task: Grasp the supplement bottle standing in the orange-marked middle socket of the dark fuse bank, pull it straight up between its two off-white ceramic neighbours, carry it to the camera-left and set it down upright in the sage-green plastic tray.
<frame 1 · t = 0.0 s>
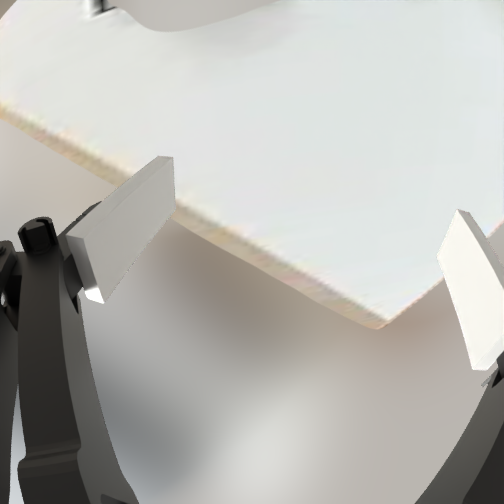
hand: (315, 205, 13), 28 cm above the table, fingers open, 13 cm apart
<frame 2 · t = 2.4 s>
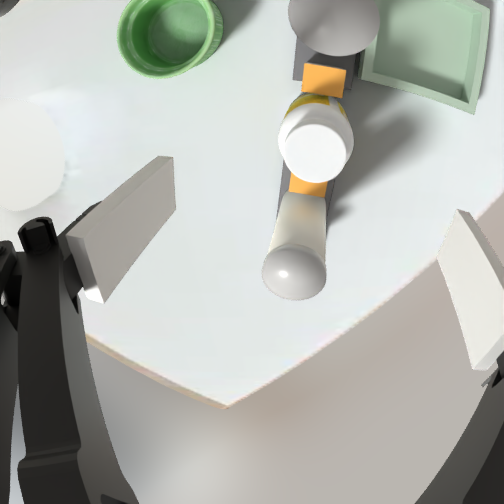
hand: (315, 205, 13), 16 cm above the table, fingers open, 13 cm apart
supplement bottle: (316, 119, 26), resting in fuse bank
ramekin: (183, 30, 23), on the table
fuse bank: (316, 120, 26), on the table
tray: (422, 38, 19), on the table
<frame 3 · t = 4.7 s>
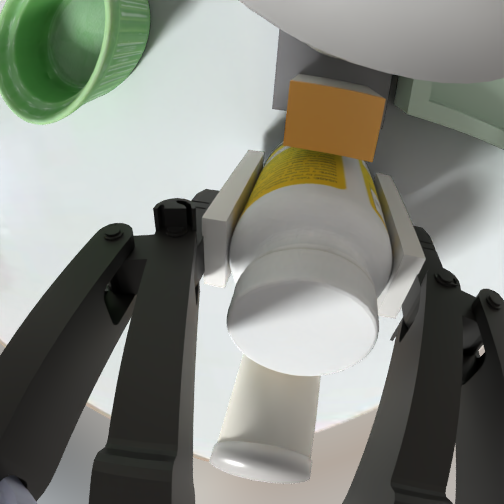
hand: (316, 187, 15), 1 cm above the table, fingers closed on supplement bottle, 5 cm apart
supplement bottle: (317, 178, 15), resting in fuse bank, touching gripper
ramekin: (95, 32, 12), on the table
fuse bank: (316, 180, 15), on the table
tray: (502, 43, 8), on the table
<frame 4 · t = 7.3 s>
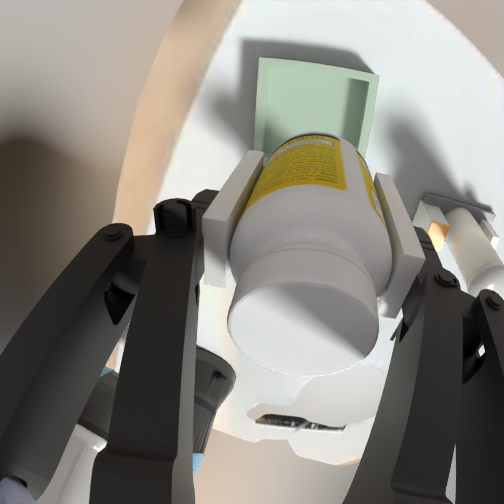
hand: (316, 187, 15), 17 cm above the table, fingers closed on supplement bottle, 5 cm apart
supplement bottle: (317, 179, 15), point 16 cm above the table, touching gripper
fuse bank: (391, 205, 32), on the table
tray: (313, 114, 28), on the table
when the fingers open (4 cm above the table, at t = 10.1 s): supplement bottle drops 2 cm, resting on tray.
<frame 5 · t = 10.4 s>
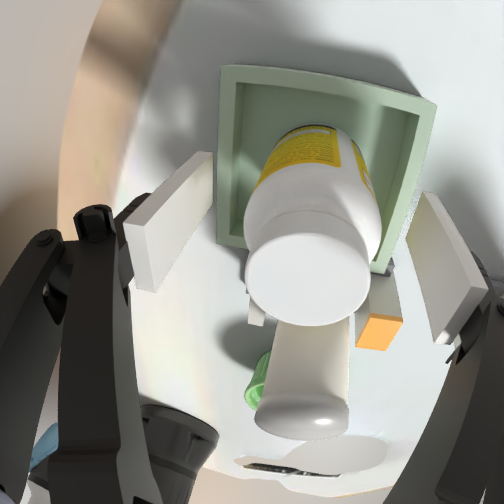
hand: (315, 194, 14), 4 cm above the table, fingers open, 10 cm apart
supplement bottle: (317, 165, 17), resting on tray
ramekin: (296, 366, 30), on the table
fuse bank: (421, 292, 21), on the table
tray: (317, 162, 17), on the table
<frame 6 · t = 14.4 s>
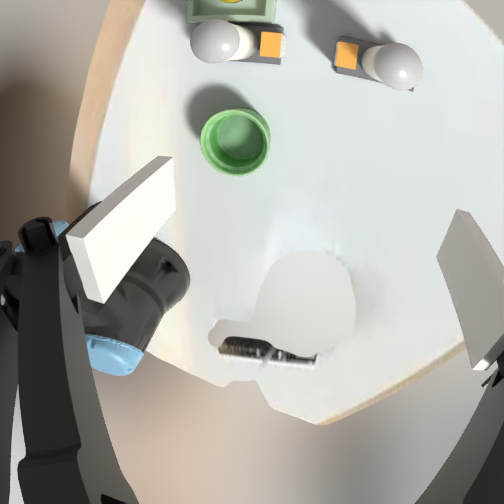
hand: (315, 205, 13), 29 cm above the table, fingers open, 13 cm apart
ramekin: (242, 134, 41), on the table
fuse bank: (310, 49, 32), on the table
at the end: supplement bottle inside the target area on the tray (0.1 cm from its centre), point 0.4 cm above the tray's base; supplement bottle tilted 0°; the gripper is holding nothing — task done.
